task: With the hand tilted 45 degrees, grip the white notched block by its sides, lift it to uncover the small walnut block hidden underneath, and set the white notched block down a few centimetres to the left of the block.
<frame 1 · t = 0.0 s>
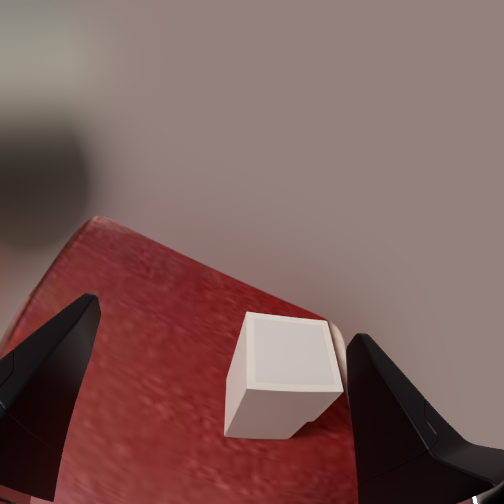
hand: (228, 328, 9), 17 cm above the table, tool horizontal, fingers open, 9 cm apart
white notched block: (258, 409, 23), on the table
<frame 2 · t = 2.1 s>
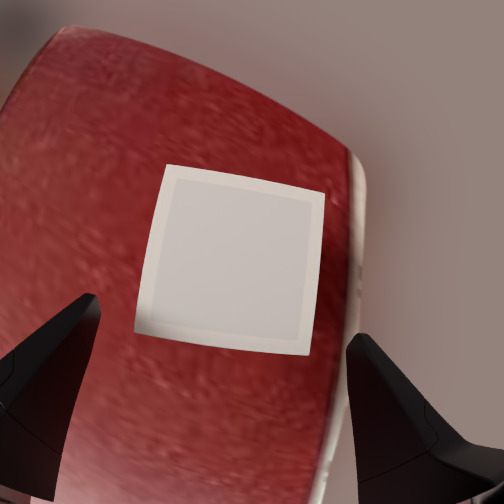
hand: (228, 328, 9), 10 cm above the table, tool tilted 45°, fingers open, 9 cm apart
white notched block: (220, 280, 19), on the table
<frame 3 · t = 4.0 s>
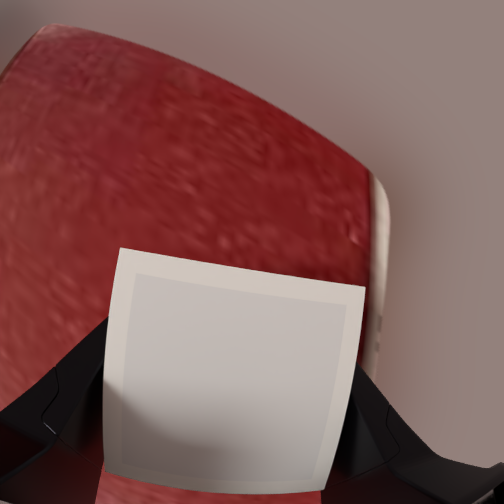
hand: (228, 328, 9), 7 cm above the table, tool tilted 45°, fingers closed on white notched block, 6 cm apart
white notched block: (216, 341, 15), on the table, touching gripper
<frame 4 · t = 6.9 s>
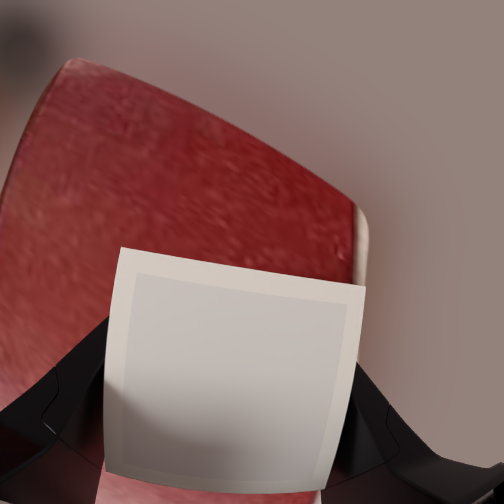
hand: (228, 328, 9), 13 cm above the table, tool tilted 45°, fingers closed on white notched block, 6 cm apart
white notched block: (216, 341, 15), point 7 cm above the table, touching gripper
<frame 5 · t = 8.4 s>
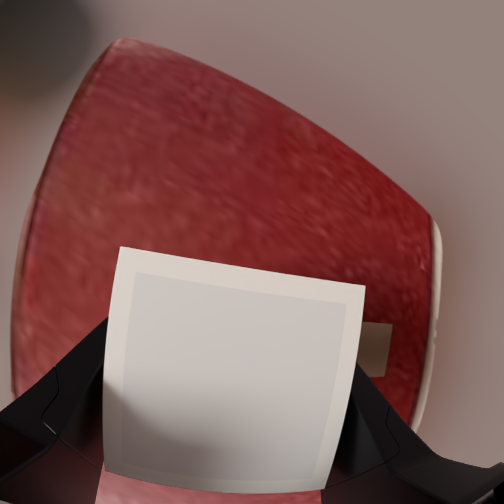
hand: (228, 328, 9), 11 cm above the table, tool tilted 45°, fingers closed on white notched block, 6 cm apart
white notched block: (216, 341, 15), point 4 cm above the table, touching gripper
walnut block: (354, 347, 19), on the table
when the fingers open (8 cm above the table, at t = 9.8 s): white notched block drops 1 cm, on the table.
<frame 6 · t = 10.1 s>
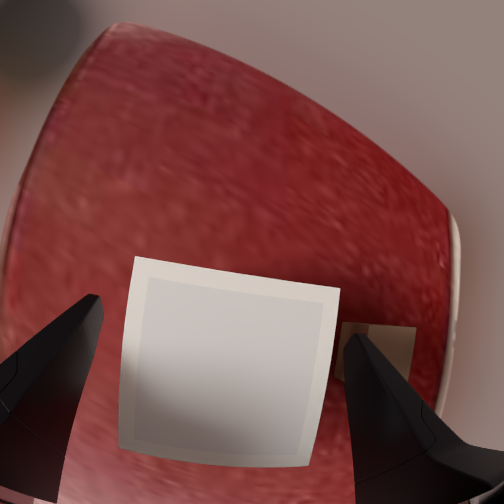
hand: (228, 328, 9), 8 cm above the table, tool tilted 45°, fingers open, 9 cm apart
white notched block: (215, 337, 17), on the table
walnut block: (374, 353, 16), on the table
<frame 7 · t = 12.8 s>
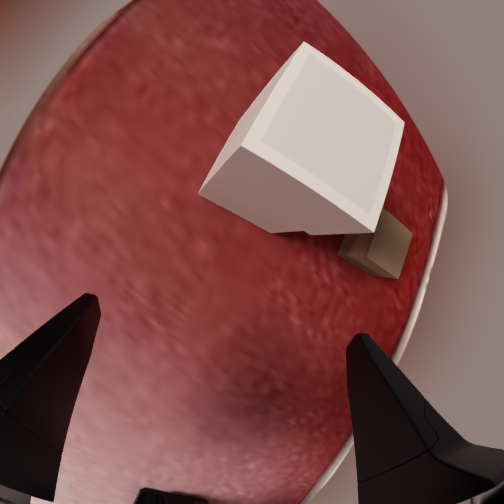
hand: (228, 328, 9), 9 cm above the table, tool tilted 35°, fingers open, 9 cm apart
white notched block: (257, 176, 19), on the table
walnut block: (375, 244, 20), on the table
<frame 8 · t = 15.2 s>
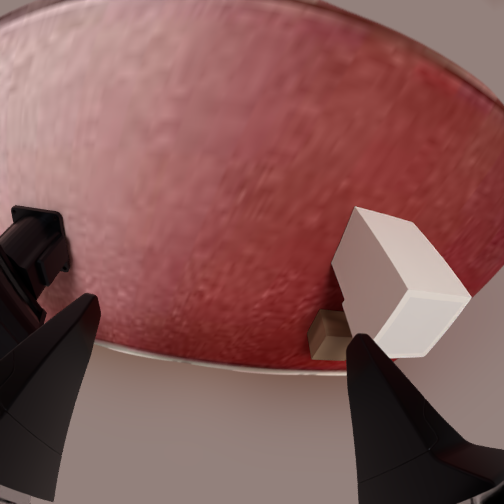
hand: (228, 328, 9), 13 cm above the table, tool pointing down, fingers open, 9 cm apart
white notched block: (371, 244, 23), on the table
walnut block: (332, 335, 27), on the table
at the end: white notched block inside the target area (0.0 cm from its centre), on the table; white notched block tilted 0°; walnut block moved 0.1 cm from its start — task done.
